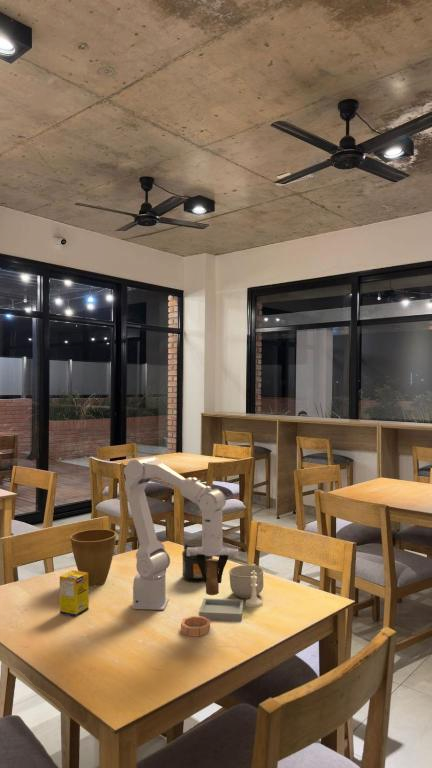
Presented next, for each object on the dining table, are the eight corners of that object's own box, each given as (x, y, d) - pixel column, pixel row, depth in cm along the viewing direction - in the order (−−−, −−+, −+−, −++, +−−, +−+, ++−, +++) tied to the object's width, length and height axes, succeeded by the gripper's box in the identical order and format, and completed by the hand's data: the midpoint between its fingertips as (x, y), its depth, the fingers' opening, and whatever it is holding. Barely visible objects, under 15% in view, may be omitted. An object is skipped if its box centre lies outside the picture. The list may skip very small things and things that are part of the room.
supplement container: (216, 581, 182) (216, 546, 182) (185, 584, 180) (185, 548, 180) (209, 571, 192) (209, 537, 192) (179, 573, 190) (179, 539, 190)
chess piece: (261, 607, 161) (261, 573, 161) (244, 606, 162) (244, 572, 162) (263, 601, 166) (263, 568, 166) (247, 599, 167) (247, 567, 167)
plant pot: (99, 571, 192) (99, 526, 192) (125, 582, 182) (125, 534, 182) (62, 582, 181) (61, 534, 181) (86, 594, 171) (86, 543, 171)
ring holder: (179, 635, 143) (179, 627, 143) (184, 622, 151) (184, 615, 151) (208, 636, 142) (208, 629, 142) (211, 624, 150) (211, 616, 150)
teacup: (253, 604, 163) (253, 578, 163) (222, 597, 169) (222, 571, 169) (273, 589, 175) (273, 564, 175) (244, 583, 181) (244, 559, 181)
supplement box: (89, 609, 160) (89, 572, 160) (76, 617, 154) (75, 578, 154) (72, 606, 162) (72, 569, 162) (59, 613, 157) (59, 575, 157)
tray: (199, 618, 154) (199, 612, 154) (203, 604, 163) (203, 598, 163) (241, 620, 152) (241, 613, 152) (243, 605, 162) (243, 599, 162)
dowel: (204, 594, 152) (204, 562, 152) (207, 589, 155) (207, 558, 155) (217, 595, 151) (217, 563, 151) (219, 590, 155) (219, 559, 155)
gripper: (184, 536, 150) (184, 585, 150) (236, 538, 149) (236, 588, 149) (188, 529, 157) (188, 576, 157) (238, 531, 156) (238, 578, 156)
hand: (212, 581), depth 153 cm, fingers closed on dowel, 4 cm apart
